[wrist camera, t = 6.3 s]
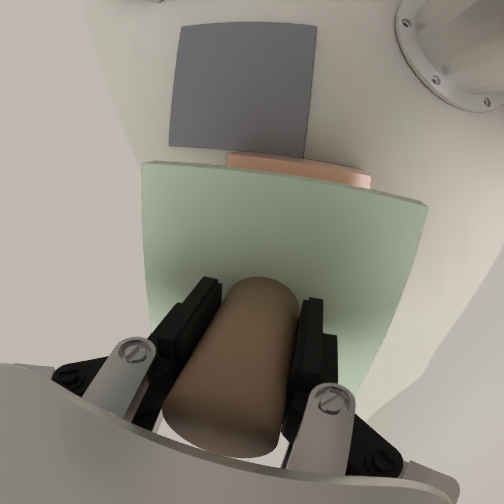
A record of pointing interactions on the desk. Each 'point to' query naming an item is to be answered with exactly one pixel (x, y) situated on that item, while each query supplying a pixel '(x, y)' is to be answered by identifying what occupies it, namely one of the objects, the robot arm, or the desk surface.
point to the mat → (243, 87)
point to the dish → (300, 168)
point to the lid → (268, 286)
